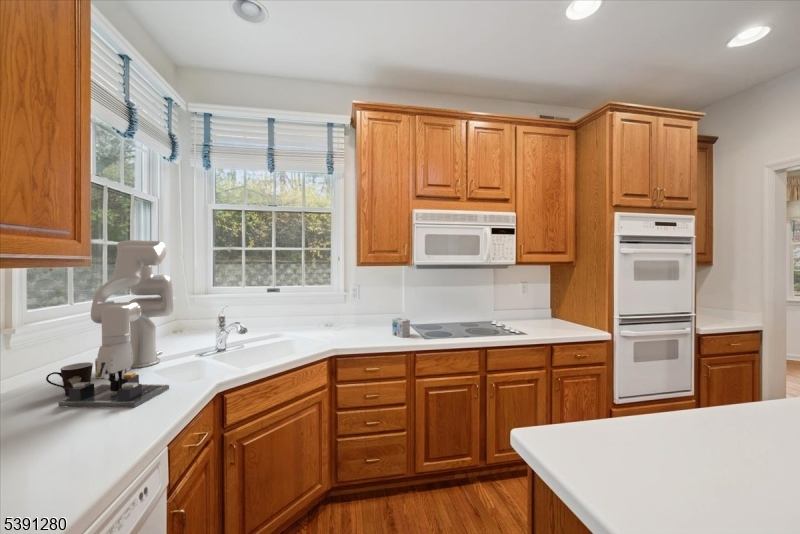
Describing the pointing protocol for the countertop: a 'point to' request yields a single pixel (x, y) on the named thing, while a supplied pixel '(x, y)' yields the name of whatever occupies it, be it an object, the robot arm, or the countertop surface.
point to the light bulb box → (401, 327)
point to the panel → (111, 395)
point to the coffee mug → (73, 375)
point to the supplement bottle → (96, 370)
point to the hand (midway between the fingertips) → (116, 390)
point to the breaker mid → (131, 378)
